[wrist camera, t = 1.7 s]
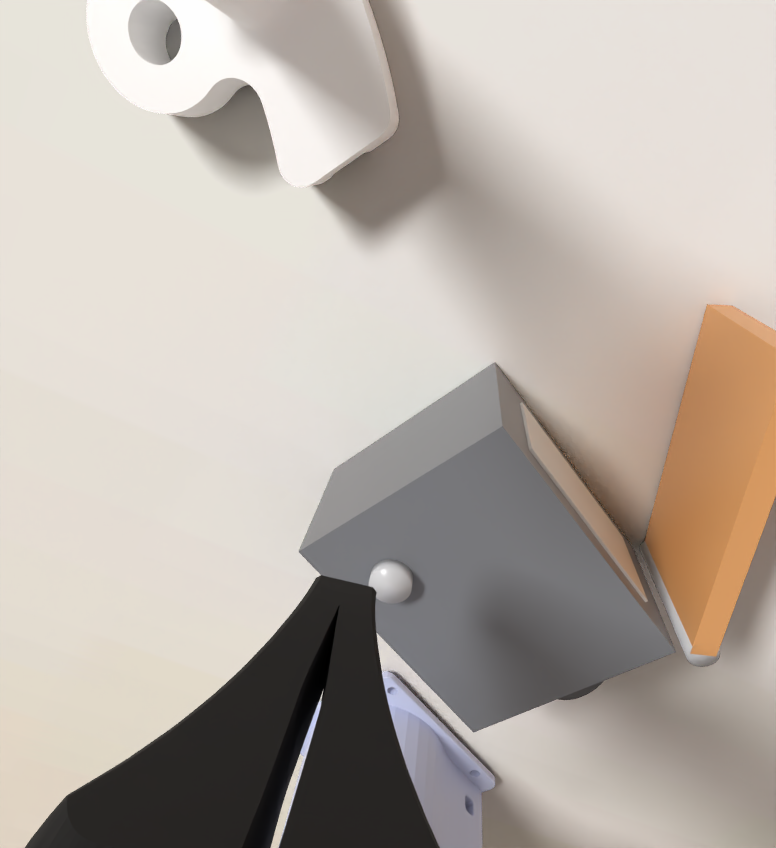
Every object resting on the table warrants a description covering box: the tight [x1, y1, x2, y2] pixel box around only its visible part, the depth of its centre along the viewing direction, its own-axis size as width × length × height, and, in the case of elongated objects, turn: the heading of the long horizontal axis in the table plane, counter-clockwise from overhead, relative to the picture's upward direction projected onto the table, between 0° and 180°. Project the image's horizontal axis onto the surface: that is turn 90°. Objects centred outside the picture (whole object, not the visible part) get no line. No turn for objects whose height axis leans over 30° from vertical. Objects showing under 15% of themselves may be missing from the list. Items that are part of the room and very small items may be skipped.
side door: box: [640, 304, 776, 667], centre depth 19 cm, size 10×1×6 cm, turn 178°
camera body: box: [299, 363, 676, 732], centre depth 21 cm, size 12×8×6 cm
